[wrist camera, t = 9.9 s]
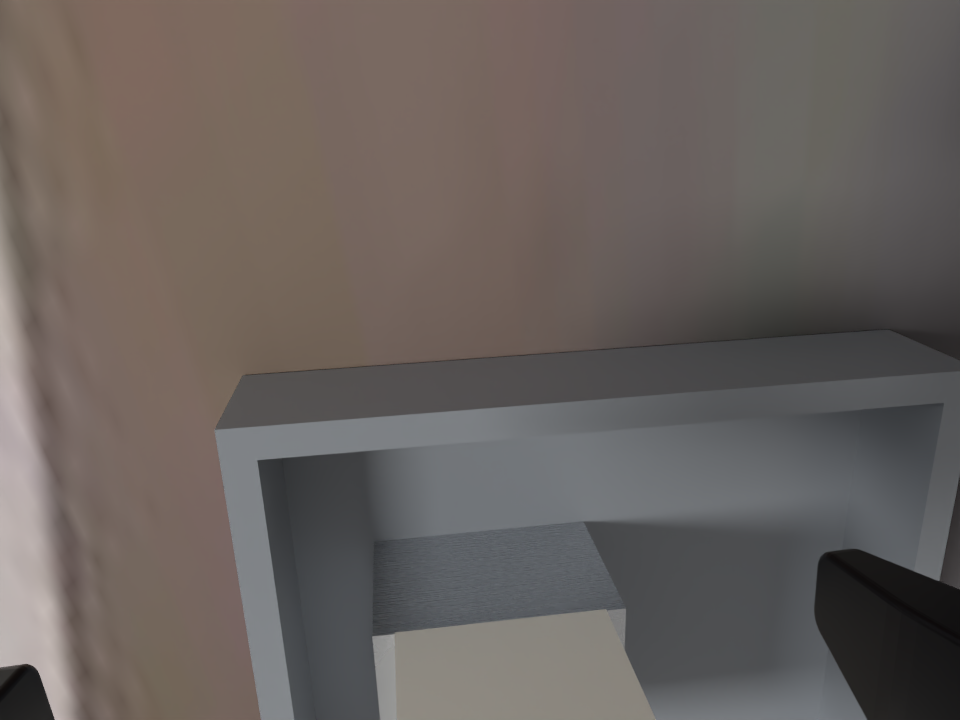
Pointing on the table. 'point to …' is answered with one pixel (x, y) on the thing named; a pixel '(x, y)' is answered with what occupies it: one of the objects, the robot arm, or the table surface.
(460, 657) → the cream box
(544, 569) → the steel block
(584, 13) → the table surface
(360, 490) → the tray
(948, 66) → the table surface
